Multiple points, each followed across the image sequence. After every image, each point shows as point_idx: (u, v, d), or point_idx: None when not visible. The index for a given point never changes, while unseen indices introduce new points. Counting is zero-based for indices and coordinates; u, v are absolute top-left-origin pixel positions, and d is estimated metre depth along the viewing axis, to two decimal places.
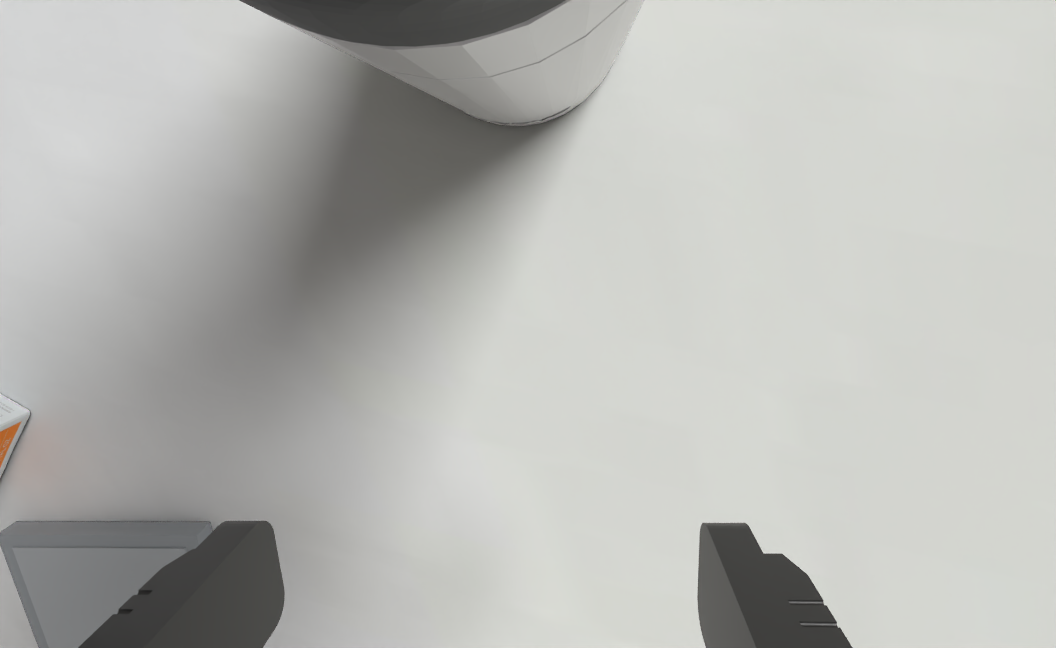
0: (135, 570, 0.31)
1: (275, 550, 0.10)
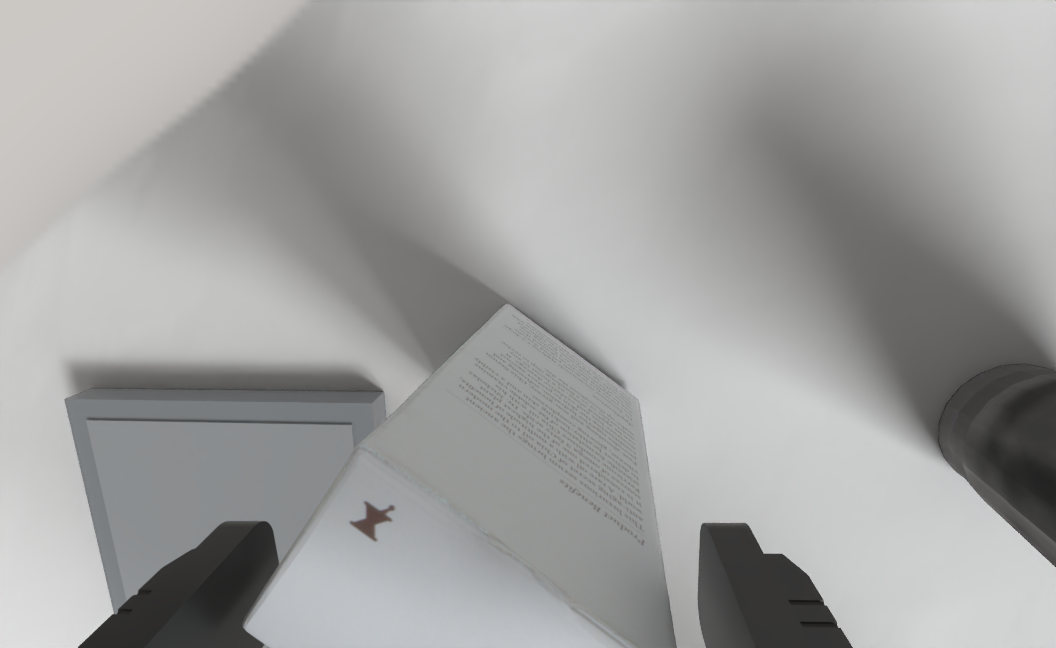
0: None
1: (275, 550, 0.10)
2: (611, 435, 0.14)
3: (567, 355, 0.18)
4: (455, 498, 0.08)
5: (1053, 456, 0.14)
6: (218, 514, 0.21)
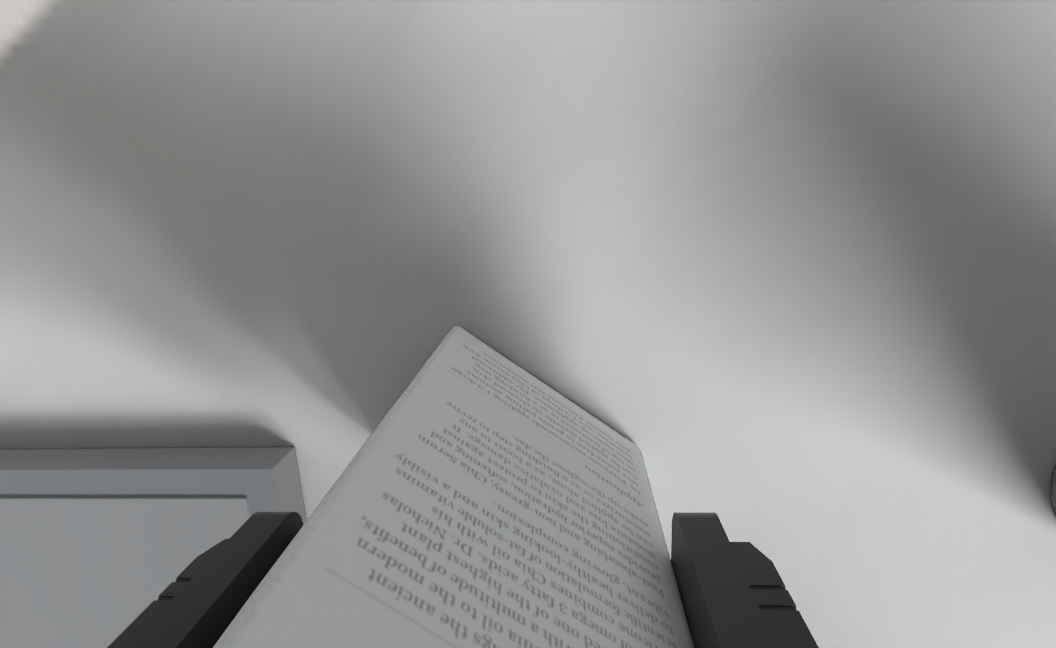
0: None
1: None
2: (620, 542, 0.09)
3: (543, 398, 0.13)
4: None
5: None
6: (77, 616, 0.16)
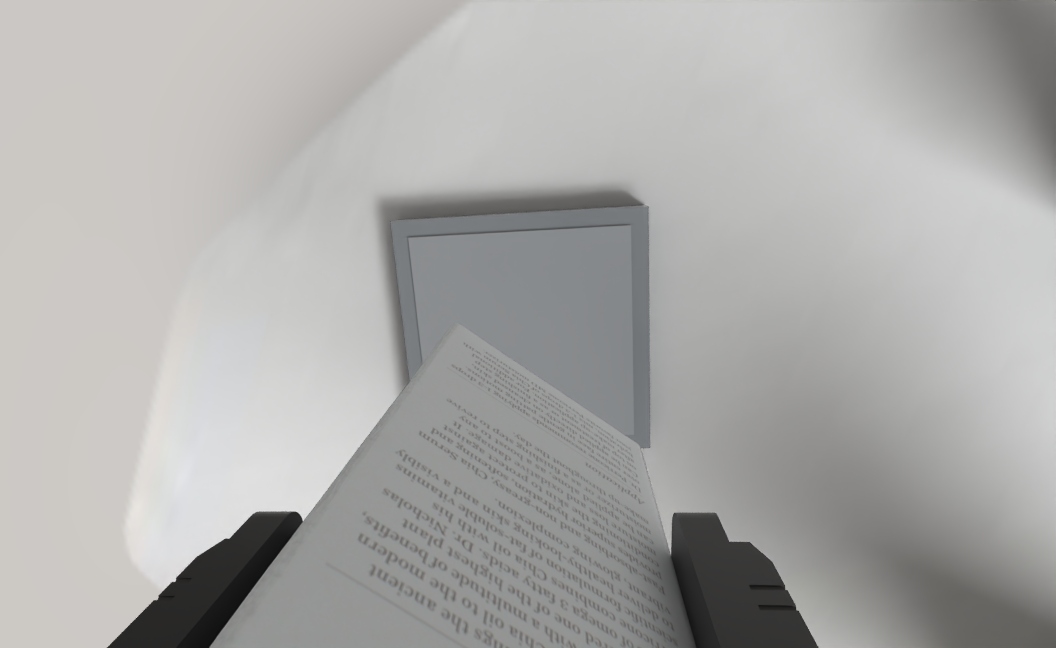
0: (602, 373, 0.27)
1: None
2: (621, 540, 0.09)
3: (543, 396, 0.13)
4: None
5: None
6: (511, 312, 0.26)
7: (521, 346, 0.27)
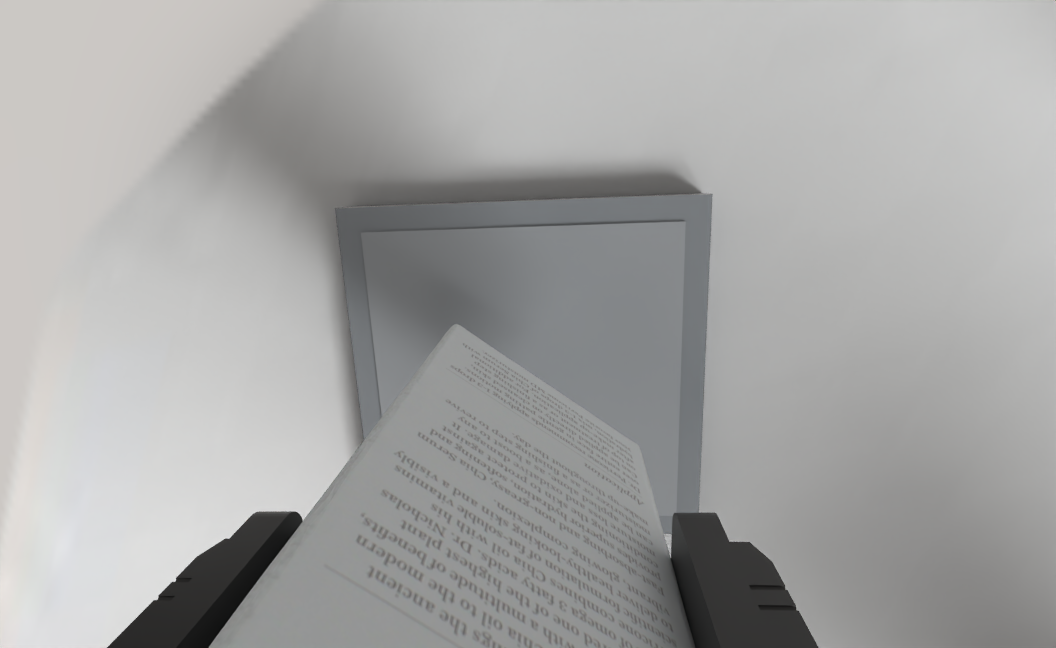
0: (634, 431, 0.19)
1: None
2: (620, 541, 0.09)
3: (543, 397, 0.13)
4: None
5: None
6: (507, 342, 0.19)
7: None
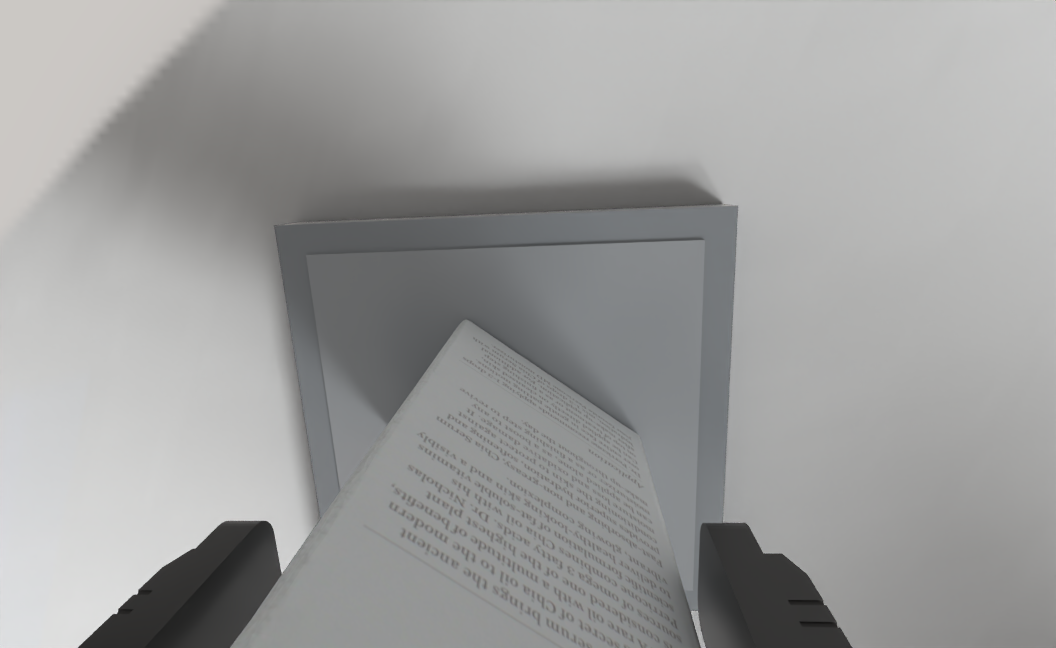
0: None
1: (275, 550, 0.10)
2: (622, 518, 0.10)
3: (548, 388, 0.14)
4: None
5: None
6: None
7: None
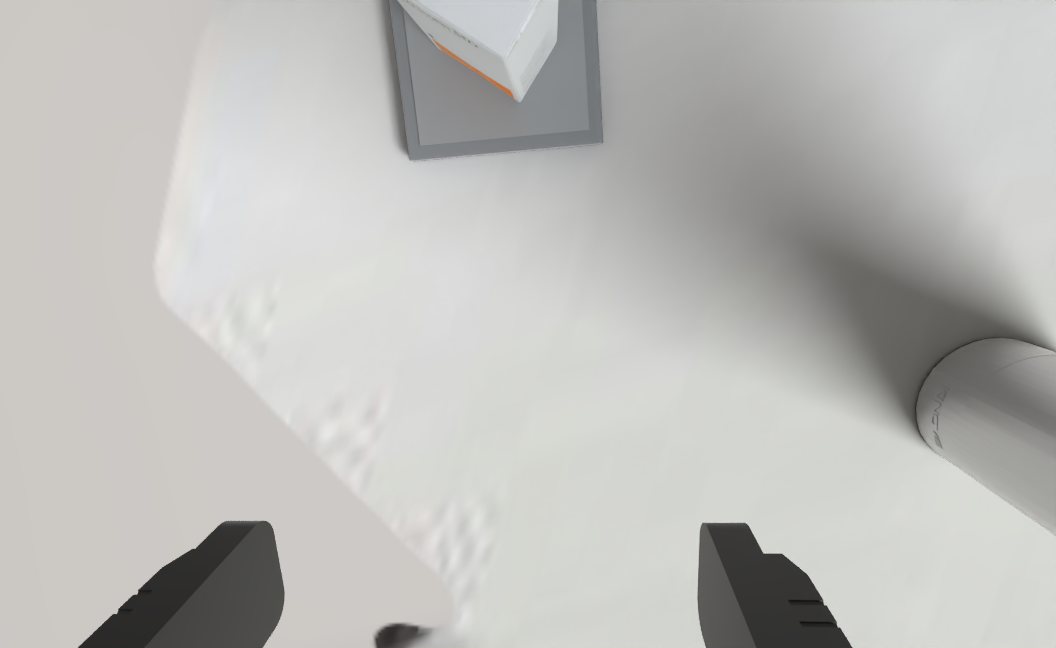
0: (560, 73, 0.32)
1: (275, 550, 0.10)
2: None
3: None
4: None
5: None
6: None
7: None
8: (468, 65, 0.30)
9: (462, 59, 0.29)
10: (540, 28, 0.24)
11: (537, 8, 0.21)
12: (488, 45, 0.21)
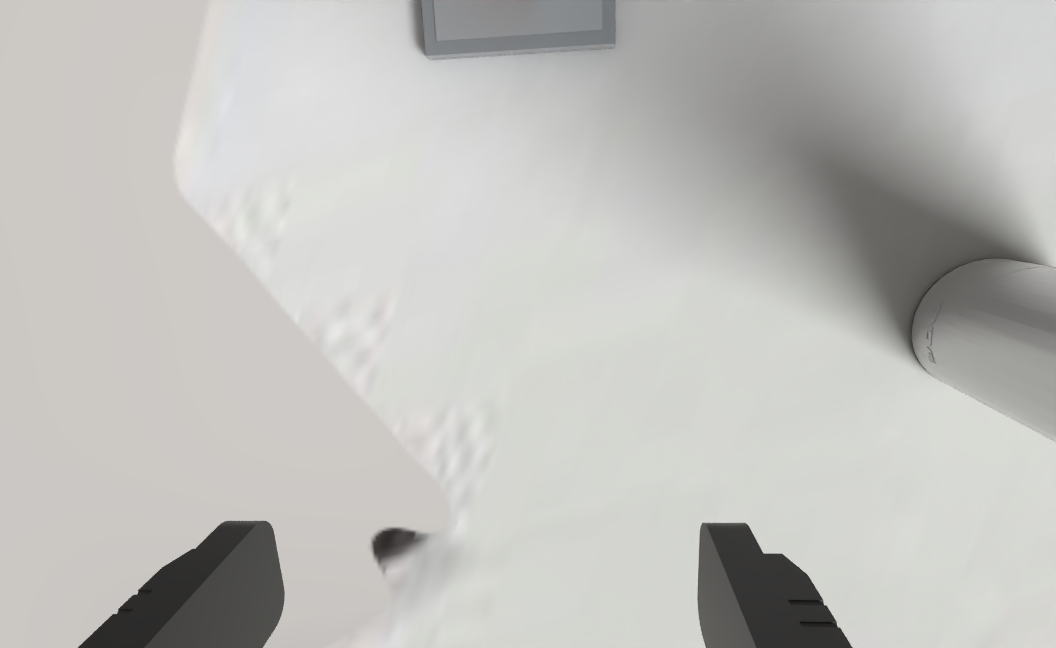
0: None
1: (275, 550, 0.10)
2: None
3: None
4: None
5: None
6: None
7: None
8: None
9: None
10: None
11: None
12: None
